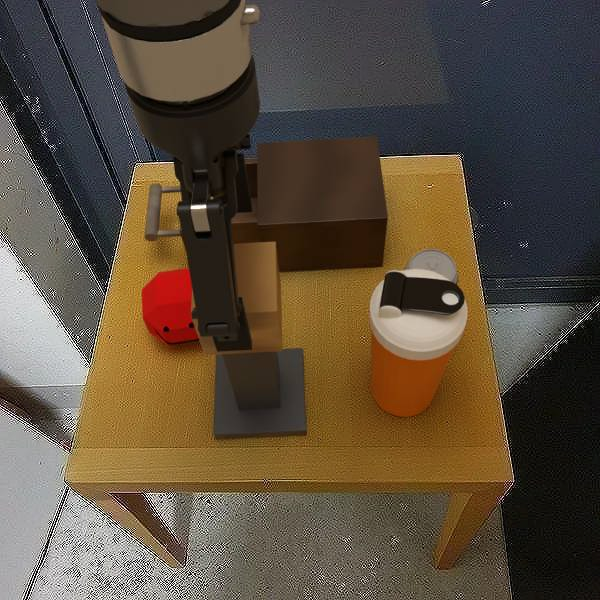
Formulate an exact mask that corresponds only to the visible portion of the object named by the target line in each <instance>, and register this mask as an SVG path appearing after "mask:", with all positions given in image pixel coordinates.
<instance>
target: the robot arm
mask: <svg viewBox="0 0 600 600" xmlns="http://www.w3.org/2000/svg"><path fill="white" fill-rule="evenodd" d="M96 5H97V7H98V10H99V13H100V17H101V20H102V23H103V26H104V29H105V33H106V35H107V36H106V37H107V39H108V42H109V45H110V47H111V51H112V54H113V57H114V61H115V63H116V66H117V70H118V73H119V75H120V77H121V79H122V80H123V82H124V87H125V91H126V93H127V96H128V100H129V103H130V106H131V109H132V111H133V114H134V117H135V120H136V124H137V127H138V130H139V131H140V134H141V135H142V136H143V137H144V139H146V141H147V142H149V143H150V144H151V145H152V146H154V147H155V148H156V149H158V150H160V151H163V152H164V153H166V154H168V155H170V156H172V157H173V158H172V159H173V167H174V168H173V170H174V176H175V179H177V180H178V182H179V186H180V188H181V192H180V196H181V200H178V202H177V203H176V206H177V207H176V216H177V217H178V221H179V226H180V225H181V228H182V232H183V236H184V240H185V246H186V250H185V253H186V252H187V253H186V257H187V258H186V259H187V262H188V263H187V264H188V268H189V271H190V277H191V283H192V289H193V295H194V301H195V308H193V310H192V313H191V317H192V319H197V320H198V332H199V333H200V336H201V337H212V338H213V341H214V344H215V347H216V350H217V352H221V351H239V350H252V339H251V335H250V330H249V326H248V321H247V317H246V313H245V308H244V304H243V299H242V297H238V286H237V275H236V264H235V253H234V242H233V231H232V220H231V219H232V218H233V217H234V216H235V215H236V213H245V212H252V201H251V195H250V189H249V183H248V177H247V171H246V165H245V159H246V158H245V153H244V152H243V153H242V152H241V153H239V152H238V151H245V150H251V149H252V143H251V140H252V139H251V134H250V132H251V131H252V130H253V128H254V126H255V125H256V123H257V120H258V118H259V114H260V109H261V102H260V101H261V100H260V92H259V85H258V78H257V68H256V62H255V59H254V58H255V57H254V55H253V54H252V52H253V45H252V37H251V29H250V25H255V24H259V21H260V19H261V10H260V9H259V7H258V6H257V4H246V0H96ZM213 197H218V199H213ZM185 246H184V247H185Z"/></svg>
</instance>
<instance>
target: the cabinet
mask: <svg viewBox="0 0 600 600" xmlns="http://www.w3.org/2000/svg"><path fill="white" fill-rule="evenodd" d="M378 140H379V139H378V136H376V135H375V136H360V137H359V136H358V137H343V138H325V139H307V140H289V141H270V142H257V143H256V159H257V225H258V232H259V238H260V242H276V249H277V257H278V265H279V273H288V272H289V273H291V272H292V273H293V272H309V271H310V272H311V271H328V270H347V269H366V268H367V269H368V268H383V267H384V258H385V247H386V238H387V229H388V216H389V215H388V209H387V203H386V195H385V186H384V178H383V171H382V163H381V156H380V155H381V154H380V147H379V141H378Z"/></svg>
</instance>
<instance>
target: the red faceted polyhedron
mask: <svg viewBox="0 0 600 600" xmlns="http://www.w3.org/2000/svg"><path fill="white" fill-rule="evenodd" d="M191 302H192V283H191V277H190V271H189V267H187V268H186V267H185V268H179V269H178V268H177V269H172V270H165V271H158V272H157V273H156V275H154V277H153V278H151V279H150V280H149V282H148V283H147V284H145V286H144V287H143V288H141V311H142V312H141V313H142V315H141V316H142V320H143V322H144V324H145V327H146V329H147V331H148V334H150V335H152V337H154V338H156V339H157V340H159V341H160V342H162V343H163V344H165V345H166V346H168V347H170V346H171V347H172V346H174V345H175V346H176V345H182V344H188V343H194V342H200V341H199V338H198V335H197V332H196V329H195V326H194V323H193V320H192V318H191Z"/></svg>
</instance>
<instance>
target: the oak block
mask: <svg viewBox="0 0 600 600" xmlns="http://www.w3.org/2000/svg"><path fill="white" fill-rule="evenodd" d="M234 253H235V264H236V275H237V286H238V297H242V299H243V304H244V308H245V313H246V317H247V321H248V326H249V330H250V335H251V339H252V350H239V351H221V352H217V350H216V347H215V344H214V341H213V338H212V337H201V336H200V333H199V332H198V320H197V319H192V320H193V323H194V326H195V329H196V332H197V335H198V338H199V341H198V342H199V344H200V346H201V349H202V352H203V354H204V356H216V355H218V354H238V353H257V352H277V351H283V349H284V348H283V311H282V307H283V306H282V282H281V274H280V273H281V272H279V265H278V257H277V249H276V242H259V243H240V244H234ZM193 308H195V301H194V295H193V289H192V302H191V313H192V310H193ZM191 318H192V317H191Z"/></svg>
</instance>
